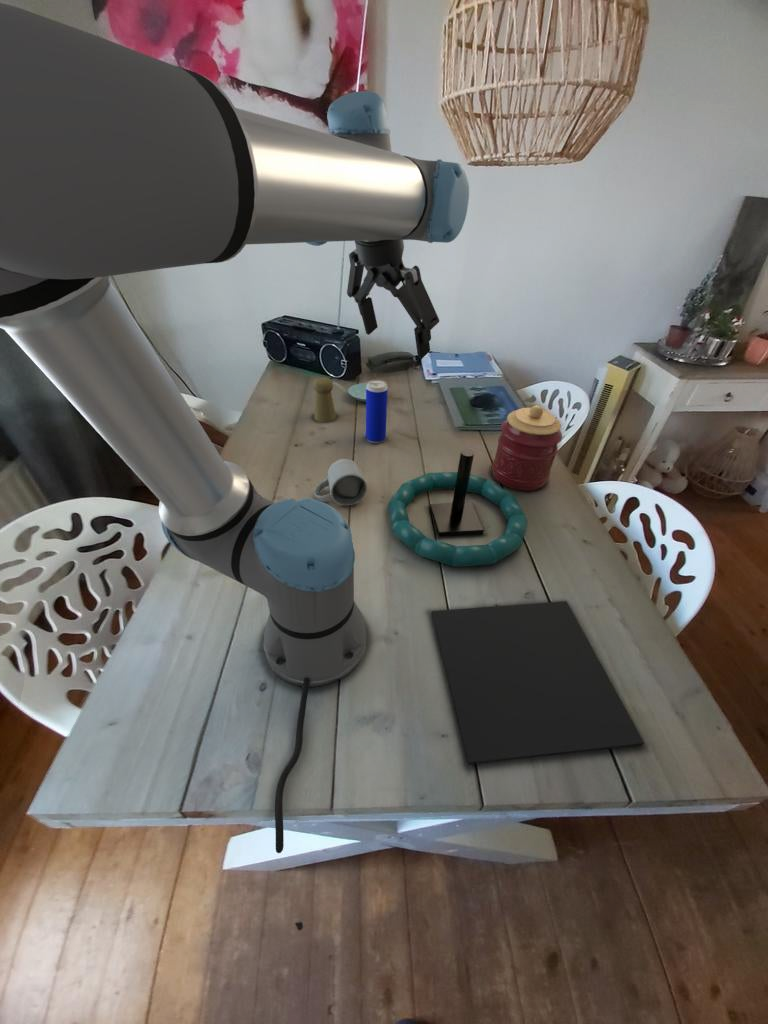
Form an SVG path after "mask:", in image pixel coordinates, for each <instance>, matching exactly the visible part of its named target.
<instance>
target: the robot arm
mask: <svg viewBox="0 0 768 1024" xmlns="http://www.w3.org/2000/svg"><path fill="white" fill-rule="evenodd" d="M326 118H327V125H328V133H326V132H323V131H320V130H315V129H312V128H308V127H305V126H302V125H298V124H294V123H292V122H287V121H285V120H281V119H277V118H273V117H270V116H266V115H264V114H263V115H262V114H259V113H255V112H253V111H249V110H245V109H241V108H238V107H236V106H235V105H234V104H233V102H232V100H231V98H230V97H229V96H228V95H227V94H226V93H225V92H224V90H223V89H222V88H221V87H220V86H219V85H217V84H216V83H215V82H214V81H213V80H211V79H210V78H208V77H207V76H205V75H203V74H201V73H198V72H195V71H192V70H190V69H186V68H184V67H181V66H177V65H174V64H171V63H169V62H166V61H164V60H161V59H158V58H157V57H153V56H150V55H148V54H145V53H143V52H141V51H138V50H136V49H135V50H134V49H133V48H130V47H127V46H125V45H122V44H119V43H116V42H114V41H112V40H109V39H107V38H103V37H101V36H98V35H96V34H93V33H90V32H88V31H84V30H83V29H79V28H76V27H73V26H71V25H68V24H65V23H62V22H60V21H57V20H55V19H51V18H48V17H46V16H43V15H40V14H37V13H35V12H33V11H29V10H27V9H23V8H21V7H18V6H16V5H11V4H7V3H3V2H0V329H2V330H4V331H5V333H7V334H8V335H9V336H10V338H11V339H12V340H13V341H14V342H15V343H16V344H17V346H19V347H20V349H21V350H22V351H23V352H24V353H25V355H27V356H28V357H29V359H30V360H31V361H32V362H33V363H34V364H35V365H36V366H37V367H38V368H39V369H40V371H41V372H42V374H44V375H45V376H46V377H47V379H48V380H49V381H50V382H51V383H52V384H53V385H54V386H55V387H56V388H57V389H58V390H59V391H60V392H61V394H62V395H63V396H64V397H65V398H66V399H67V400H68V402H70V403H71V405H72V406H73V407H74V408H75V409H76V410H77V412H79V413H80V415H81V416H82V417H83V418H84V419H85V420H86V421H87V422H88V423H89V424H90V426H91V427H92V428H93V429H94V430H95V432H97V433H98V434H99V435H100V437H102V439H103V440H104V441H105V442H106V443H107V444H108V445H109V447H110V448H112V450H113V451H114V452H115V453H116V454H117V455H118V456H119V457H120V459H122V461H123V462H124V463H125V464H126V465H127V466H128V467H129V468H130V470H132V472H133V473H134V474H135V475H136V476H137V477H138V479H140V480H141V481H142V483H143V484H144V485H145V486H146V487H147V488H148V489H149V491H150V492H151V493H153V495H154V496H155V497H156V498H157V499H158V500H159V503H158V515H159V518H160V521H161V522H160V523H161V524H160V525H161V529H162V531H163V534H164V537H165V538H166V539H167V541H168V542H169V543H170V545H171V546H173V547H174V548H175V549H176V550H177V551H178V552H180V553H181V554H182V555H184V557H187V558H188V559H191V560H193V561H196V562H199V563H201V564H203V565H205V566H207V567H208V568H211V569H212V570H215V571H217V572H218V573H220V574H222V575H225V576H227V577H228V578H230V579H232V580H234V581H236V582H238V583H239V584H241V585H243V586H246V587H247V588H249V589H251V590H253V591H254V592H257V593H259V594H261V595H262V596H263V597H264V598H265V599H266V601H267V606H268V610H269V614H268V618H267V621H266V625H265V627H264V632H263V650H264V654H265V659H266V661H267V663H268V665H269V667H270V668H271V670H272V671H273V672H274V673H275V674H276V676H278V677H279V678H280V679H282V680H283V681H285V682H287V683H288V684H292V685H295V686H299V687H302V688H301V689H302V690H301V694H300V695H301V696H300V702H299V709H298V715H297V723H296V729H295V745H294V749H293V753H292V755H291V758H290V759H289V760H288V762H287V764H286V765H285V767H284V769H283V770H282V772H281V774H280V775H279V779H278V781H277V785H276V789H275V795H274V796H275V798H274V825H275V852H276V853H277V854H281V853H282V852H283V851H284V847H285V846H284V843H285V842H284V813H283V797H284V790H285V785H286V782H287V779H288V776H289V774H290V773H291V771H292V770H293V768H294V767H295V765H296V764H297V762H298V760H299V758H300V755H301V753H302V747H303V739H304V725H305V716H306V709H307V703H308V696H309V689H310V688H315V687H323V686H327V685H331V684H334V683H335V682H338V681H340V680H341V679H343V678H344V677H346V676H348V675H349V674H350V673H351V672H353V670H354V669H356V667H357V666H358V665H359V664H360V662H361V661H362V658H363V656H364V654H365V652H366V648H367V640H368V639H367V638H368V637H367V635H368V633H367V632H368V631H367V626H366V622H365V619H364V616H363V614H362V612H361V610H360V608H359V607H358V605H357V603H356V600H355V567H354V566H355V559H356V555H355V554H356V553H355V548H354V543H353V537H352V531H351V528H350V526H349V524H348V522H347V520H346V518H345V517H344V516H343V514H341V513H340V512H339V511H338V509H335V508H334V507H333V506H331V505H329V504H328V503H326V502H321V501H319V500H318V499H313V498H308V497H302V498H301V500H296V499H295V498H294V497H292V498H291V497H290V498H286V499H282V500H279V501H277V502H275V501H273V500H270V499H269V498H265V497H264V496H262V495H261V494H260V493H259V492H258V491H257V489H256V488H255V486H254V484H253V482H252V481H251V479H250V478H249V476H248V475H247V473H246V472H245V470H244V469H243V468H242V467H240V465H238V464H236V463H233V462H231V461H227V460H224V459H223V458H222V456H221V454H220V453H219V452H218V450H217V448H216V447H215V445H214V443H213V442H212V440H211V438H210V437H209V436H208V434H207V432H206V430H205V429H204V427H203V426H202V425H201V423H200V421H199V419H198V418H197V417H196V414H195V413H194V412H193V410H192V409H191V407H190V405H189V404H188V402H187V400H186V399H185V397H184V396H183V394H182V393H181V391H180V390H179V388H178V386H177V385H176V383H175V382H174V380H173V378H172V377H171V376H170V374H169V372H168V370H167V369H166V368H165V366H164V364H163V363H162V361H161V360H160V358H159V356H158V355H157V353H156V351H155V350H154V349H153V347H152V345H151V344H150V342H149V341H148V338H147V337H146V336H145V334H144V333H143V331H142V330H141V327H140V325H138V323H137V322H136V320H135V318H134V317H133V315H132V313H131V312H130V310H129V308H128V307H127V305H126V304H125V302H124V301H123V299H122V297H121V296H120V295H119V293H118V291H117V289H116V288H115V287H114V285H113V283H112V281H111V277H113V276H119V275H121V276H122V275H127V274H133V273H140V272H141V273H142V272H148V271H149V272H150V271H155V270H162V269H170V268H178V267H179V268H180V267H188V266H196V265H204V264H205V265H206V264H218V263H224V262H228V261H230V260H232V259H233V258H235V257H237V255H238V254H240V253H241V252H242V251H243V249H244V248H245V246H246V245H269V244H271V245H273V244H300V243H302V244H303V243H305V244H307V245H311V246H315V247H319V246H323V245H325V244H327V243H329V242H354V245H355V249H354V250H352V251H351V252H350V253H348V258H349V265H350V266H349V274H348V281H347V288H346V295H347V296H348V297H349V298H350V299H351V298H353V299H354V302H355V303H356V304H357V307H358V311H359V314H360V316H361V318H362V322H363V327H364V331H365V334H366V335H368V336H370V335H371V334H372V333H373V332H374V331H375V330H377V329H378V321H377V316H376V313H375V312H376V311H375V308H374V303H373V299H372V297H370V296H369V295H370V294H371V291H372V289H373V287H374V286H375V285H376V286H377V287H378V288H383V289H385V290H386V291H389V292H390V293H391V295H392V296H393V298H397V300H398V301H399V302H400V304H401V305H402V307H403V308H404V310H405V311H406V313H407V314H408V316H409V317H410V319H411V320H412V322H413V323H414V325H415V327H414V329H413V330H414V331H413V332H414V338H415V347H416V351H417V352H416V354H417V359H419V360H423V359H424V358H425V357H426V355H428V354H429V353H430V352H431V346H430V345H431V344H430V341H432V332H431V330H433V328H435V327H436V326H437V325H438V324H439V323H440V318H439V316H438V313H437V311H436V309H435V307H434V305H433V302H432V301H431V298H430V295H429V294H428V291H427V288H426V287H425V285H424V283H423V282H424V281H423V280H422V276H421V275H422V274H421V269H420V267H419V266H418V265H414V266H413V267H412V268H410V267H406V266H405V264H404V261H403V255H404V249H405V242H404V241H418V242H419V241H420V242H427V243H428V244H433V243H445V244H446V243H451V242H453V241H455V239H456V238H457V237H458V236H459V235H460V233H461V232H462V229H463V227H464V224H465V221H466V218H467V214H468V207H469V200H470V181H469V176H468V173H467V171H466V169H465V167H464V166H463V165H462V164H461V163H459V162H453V161H444V160H443V159H441V158H440V159H437V160H428V159H427V160H426V159H419V158H416V157H415V158H414V157H412V156H407V155H402V154H400V153H397V152H393V151H392V143H391V135H390V134H391V130H390V127H389V121H388V117H387V111H386V106H385V102H384V100H383V98H382V97H381V95H379V94H378V93H377V92H374V91H371V90H360V91H353V92H350V93H346V94H344V95H342V96H339V97H338V98H336V99H335V100H333V101H332V102H331V103H330V104H329V107H328V108H327V114H326ZM364 269H365V270H366V275H365V276H364V278H363V275H364ZM362 281H363V282H362ZM400 283H402V285H401V286H400V287H398V286H399V285H400ZM397 287H398V288H397ZM294 924H295V926H296V928H297V930H298V931H302V930H303V928H304V925H303V922H302V921H298V922H294Z"/></svg>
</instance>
